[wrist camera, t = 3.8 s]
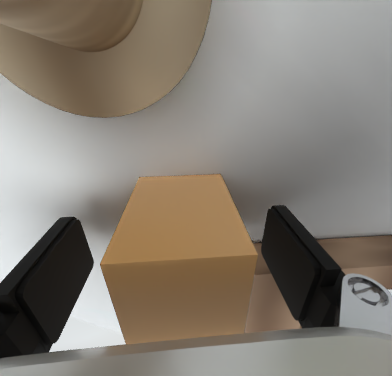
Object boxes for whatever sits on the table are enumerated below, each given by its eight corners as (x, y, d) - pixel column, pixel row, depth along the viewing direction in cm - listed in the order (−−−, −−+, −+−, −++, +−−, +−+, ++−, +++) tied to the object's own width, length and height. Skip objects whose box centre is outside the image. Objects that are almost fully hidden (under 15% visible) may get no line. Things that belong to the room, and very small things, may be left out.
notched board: (458, 231, 14) (509, 257, 12) (392, 319, 19) (419, 349, 17) (242, 244, 14) (255, 275, 11) (231, 333, 19) (238, 366, 16)
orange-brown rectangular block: (220, 173, 11) (257, 254, 6) (217, 236, 13) (242, 338, 8) (139, 177, 11) (99, 264, 6) (149, 239, 13) (127, 347, 8)
